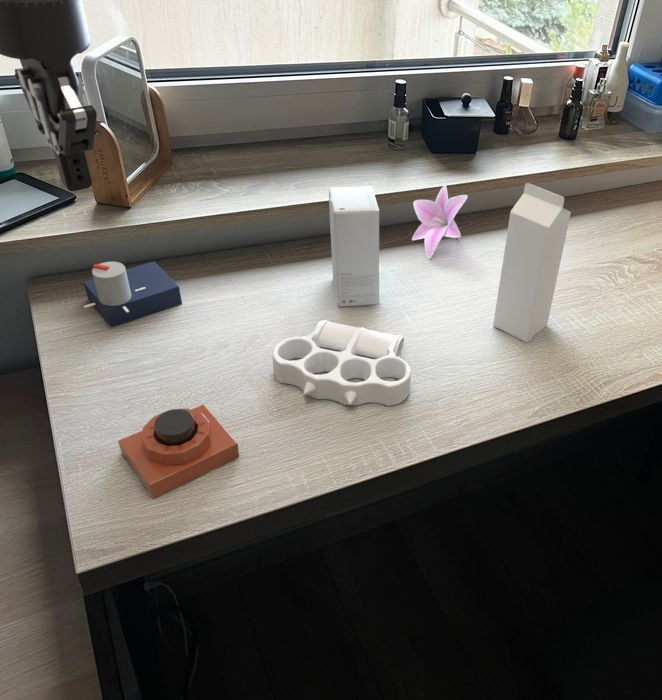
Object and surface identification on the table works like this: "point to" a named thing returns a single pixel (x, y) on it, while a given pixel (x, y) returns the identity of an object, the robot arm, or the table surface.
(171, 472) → the button base
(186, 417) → the dark grey short cylinder
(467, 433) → the table surface
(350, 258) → the cosmetic box
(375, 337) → the white brass knuckles
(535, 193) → the milk
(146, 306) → the dial panel
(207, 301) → the table surface
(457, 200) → the lily
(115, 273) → the dial
